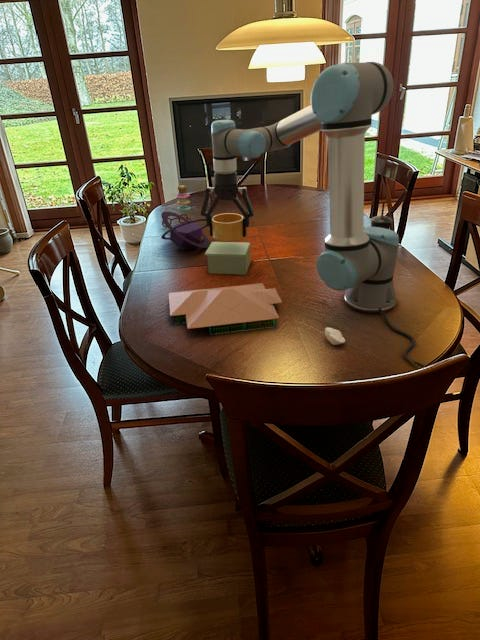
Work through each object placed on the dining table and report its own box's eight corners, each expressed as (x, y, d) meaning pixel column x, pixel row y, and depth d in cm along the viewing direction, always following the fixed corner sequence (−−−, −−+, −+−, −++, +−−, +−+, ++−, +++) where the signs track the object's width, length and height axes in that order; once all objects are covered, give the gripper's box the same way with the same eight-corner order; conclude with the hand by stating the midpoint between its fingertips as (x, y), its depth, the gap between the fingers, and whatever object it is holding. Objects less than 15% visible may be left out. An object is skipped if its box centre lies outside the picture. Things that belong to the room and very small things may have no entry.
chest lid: (205, 255, 156) (204, 253, 156) (212, 243, 166) (212, 241, 165) (245, 256, 154) (245, 254, 153) (250, 244, 164) (250, 242, 163)
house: (288, 326, 126) (289, 301, 122) (172, 340, 122) (168, 315, 118) (270, 291, 145) (270, 268, 141) (170, 302, 141) (167, 278, 137)
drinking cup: (388, 258, 165) (396, 205, 155) (367, 257, 167) (373, 204, 156) (386, 250, 172) (394, 199, 161) (366, 250, 173) (372, 198, 163)
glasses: (187, 222, 210) (186, 212, 207) (200, 230, 200) (200, 219, 198) (162, 228, 204) (160, 218, 201) (174, 236, 194) (173, 225, 192)
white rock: (319, 338, 121) (321, 325, 120) (336, 339, 122) (339, 325, 121) (330, 348, 114) (333, 334, 113) (348, 348, 116) (351, 334, 114)
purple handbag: (213, 256, 173) (209, 192, 160) (159, 259, 172) (150, 195, 159) (213, 236, 192) (208, 177, 179) (164, 239, 191) (156, 180, 178)
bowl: (241, 243, 152) (240, 223, 148) (209, 242, 154) (208, 222, 150) (246, 232, 161) (245, 213, 158) (216, 231, 163) (215, 212, 159)
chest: (208, 273, 159) (207, 255, 156) (215, 260, 169) (214, 243, 166) (245, 274, 157) (245, 256, 154) (250, 261, 167) (250, 244, 164)
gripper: (262, 169, 147) (262, 232, 158) (193, 169, 151) (198, 230, 162) (259, 174, 141) (260, 239, 152) (187, 174, 144) (193, 238, 156)
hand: (228, 235), depth 157 cm, fingers closed on bowl, 11 cm apart
